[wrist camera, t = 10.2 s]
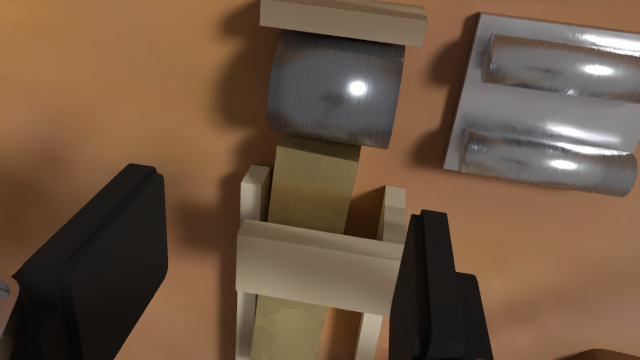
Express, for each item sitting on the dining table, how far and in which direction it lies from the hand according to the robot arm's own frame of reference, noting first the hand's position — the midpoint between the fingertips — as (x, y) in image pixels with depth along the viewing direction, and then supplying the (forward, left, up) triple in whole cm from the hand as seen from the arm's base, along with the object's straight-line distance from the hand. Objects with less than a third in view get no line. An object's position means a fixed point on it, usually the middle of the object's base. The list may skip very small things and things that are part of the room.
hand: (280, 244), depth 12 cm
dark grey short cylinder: (+1, 0, -10) cm, 10 cm away
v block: (0, -9, -14) cm, 17 cm away
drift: (-10, +1, -14) cm, 17 cm away
